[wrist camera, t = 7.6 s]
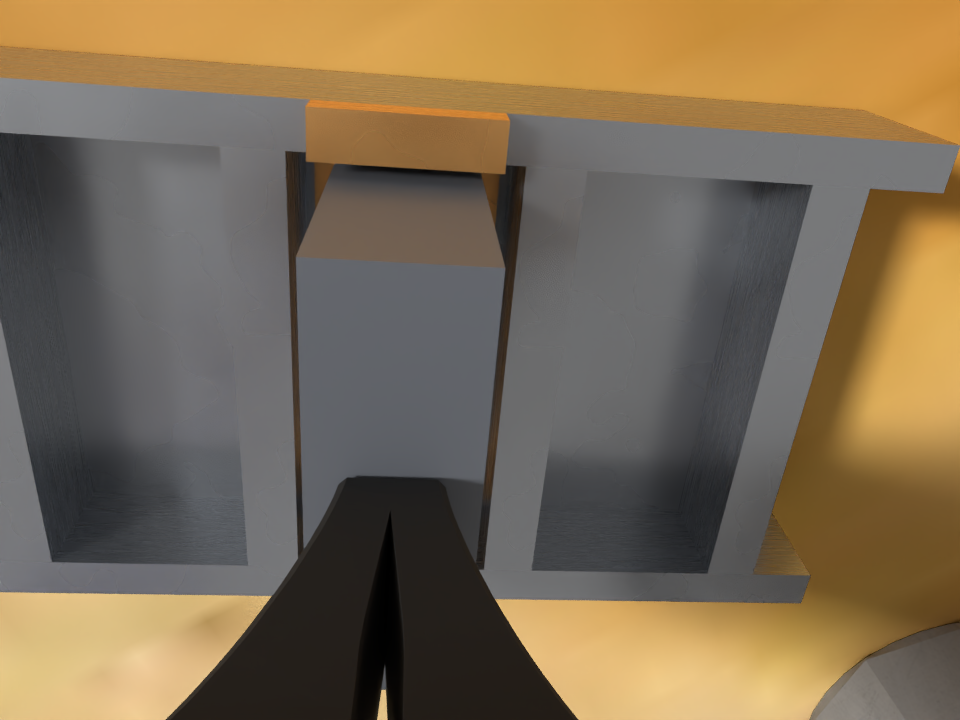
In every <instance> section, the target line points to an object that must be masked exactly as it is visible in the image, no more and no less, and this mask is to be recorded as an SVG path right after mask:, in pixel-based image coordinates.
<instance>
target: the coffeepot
mask: <svg viewBox="0 0 960 720" xmlns="http://www.w3.org/2000/svg"><path fill="white" fill-rule="evenodd" d="M810 720H960V623H953V624H948V625H944V626H940V627H936V628H932V629H929V630H925V631H921V632H918V633H916V634H913V635H911V636H908V637H906V638H903V639H901V640H898V641H896V642H893V643H891V644H890V645H888V646H886V647H884V648H882V649H881V650H879V651H877V652H875V653H873V654H872V655H870V656H868V657H866V658H865V659H864V660H862V661H861V662H860V663H858V664H857V665H856V666H854V667H853V668H852V669H850V670H849V671H848V672H846V673H845V674H844V675H843V676H842V677H841V678H840V679H839V680H838V681H837V682H836V683H835V684H834V685H833V686H832V687H831V688H830V689H829V690H828V691H827V692H826V693H825V695H824V696H823V698H822V699H821V700H820V702H819V703H818V705H817V706H816V708H815V709H814V711H813V713H812V715H811V717H810Z"/></svg>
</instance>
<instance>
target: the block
mask: <svg viewBox="0 0 960 720" xmlns="http://www.w3.org/2000/svg"><path fill="white" fill-rule="evenodd" d="M504 277H505V265H504V261H503V257H502V253H501V249H500V245H499V241H498V238H497V234H496V230H495V226H494V222H493V218H492V214H491V210H490V207H489V203H488V199H487V195H486V191H485V187H484V183H483V179H482V175H481V173H477V172H461V171H446V170H430V169H414V168H398V167H383V166H367V165H351V164H334V166H333V169H332V171H331V173H330V176H329V178H328V181H327V183H326V185H325V188H324V190H323V193H322V195H321V198H320V200H319V202H318V205H317V207H316V210H315V212H314V214H313V217H312V219H311V222H310V224H309V226H308V229H307V231H306V234H305V236H304V239H303V241H302V243H301V246H300V248H299V251H298V253H297V255H296V282H297V319H298V356H299V393H300V430H301V467H302V505H303V542H304V548H305V547H306V545H307V544H308V542H309V541H310V539H311V537H312V535H313V534H314V532H315V530H316V529H317V527H318V525H319V524H320V522H321V520H322V518H323V516H324V514H325V513H326V511H327V509H328V507H329V505H330V503H331V501H332V499H333V496H334V494H335V492H336V489H337V487H338V484H339V483H341V482H342V481H343V480H344V479H346V478H347V477H351V478H387V479H423V480H439V481H440V482H441V483H442V484H443V485H444V486H445V487H446V491H447V495H448V499H449V502H450V505H451V508H452V511H453V514H454V516H455V519H456V521H457V524H458V526H459V529H460V531H461V533H462V536H463V538H464V540H465V542H466V545H467V547H468V549H469V551H470V553H471V555H472V557H473V559H474V561H475V563H476V559H477V549H478V539H479V528H480V518H481V508H482V498H483V488H484V478H485V468H486V458H487V448H488V438H489V428H490V418H491V408H492V398H493V387H494V377H495V367H496V357H497V347H498V337H499V327H500V317H501V307H502V297H503V287H504ZM381 690H386V674H385V668H384V675H383V682H382V689H381Z"/></svg>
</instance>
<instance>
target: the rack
mask: <svg viewBox="0 0 960 720" xmlns="http://www.w3.org/2000/svg"><path fill="white" fill-rule="evenodd" d="M959 148H960V145H958V144H955V143H952V142H949V141H947V140H944V139H941V138H938V137H936V136H933V135H930V134H927V133H925V132H922V131H919V130H917V129H914V128H911V127H908V126H906V125H903V124H900V123H897V122H895V121H892V120H889V119H886V118H884V117H881V116H878V115H875V114H873V113H870V112H867V111H864V110H851V109H838V108H824V107H811V106H797V105H784V104H770V103H757V102H743V101H730V100H716V99H703V98H689V97H676V96H662V95H649V94H635V93H622V92H608V91H595V90H581V89H568V88H554V87H541V86H527V85H514V84H500V83H487V82H473V81H460V80H446V79H433V78H419V77H406V76H392V75H379V74H365V73H352V72H338V71H325V70H311V69H298V68H284V67H271V66H257V65H244V64H230V63H217V62H203V61H190V60H176V59H163V58H149V57H136V56H122V55H109V54H95V53H82V52H68V51H55V50H41V49H28V48H14V47H1V46H0V592H31V593H103V594H174V595H246V596H272V595H273V594H274V593H275V592H276V590H277V589H278V587H279V586H280V585H281V583H282V582H283V580H284V579H285V577H286V576H287V574H288V573H289V571H290V570H291V568H292V567H293V565H294V564H295V562H296V561H297V559H298V558H299V556H300V554H301V553H302V551H303V550H304V542H303V505H302V467H301V430H300V393H299V356H298V319H297V282H296V255H297V253H298V251H299V248H300V246H301V243H302V241H303V239H304V236H305V234H306V231H307V229H308V226H309V224H310V222H311V219H312V217H313V214H314V212H315V210H316V207H317V205H318V202H319V200H320V198H321V195H322V193H323V190H324V188H325V185H326V183H327V181H328V178H329V176H330V173H331V171H332V169H333V166H334V164H351V165H367V166H383V167H398V168H414V169H430V170H446V171H461V172H477V173H481V175H482V179H483V183H484V187H485V191H486V195H487V199H488V203H489V207H490V210H491V214H492V218H493V222H494V226H495V230H496V234H497V238H498V241H499V245H500V249H501V253H502V257H503V261H504V265H505V277H504V287H503V297H502V307H501V317H500V327H499V337H498V347H497V357H496V367H495V377H494V387H493V398H492V408H491V418H490V428H489V438H488V448H487V458H486V468H485V478H484V488H483V498H482V508H481V518H480V528H479V539H478V549H477V559H476V565H477V567H478V569H479V571H480V573H481V575H482V576H483V578H484V580H485V582H486V584H487V586H488V588H489V590H490V592H491V593H492V595H493V597H494V599H532V600H603V601H675V602H747V603H801V602H802V599H803V596H804V593H805V590H806V587H807V584H808V582H809V579H810V576H811V575H810V574H809V572H808V570H807V569H806V567H805V566H804V564H803V562H802V561H801V559H800V557H799V556H798V554H797V553H796V551H795V549H794V548H793V546H792V545H791V543H790V541H789V540H788V538H787V536H786V535H785V533H784V532H783V530H782V528H781V527H780V525H779V524H778V522H777V520H776V519H775V517H774V515H773V514H772V509H773V506H774V503H775V500H776V496H777V493H778V490H779V486H780V483H781V480H782V477H783V473H784V470H785V467H786V463H787V460H788V457H789V454H790V450H791V447H792V444H793V441H794V437H795V434H796V431H797V427H798V424H799V421H800V418H801V414H802V411H803V408H804V404H805V401H806V398H807V395H808V391H809V388H810V385H811V381H812V378H813V375H814V372H815V368H816V365H817V362H818V358H819V355H820V352H821V349H822V345H823V342H824V339H825V336H826V332H827V329H828V326H829V322H830V319H831V316H832V313H833V309H834V306H835V303H836V299H837V296H838V293H839V290H840V286H841V283H842V280H843V276H844V273H845V270H846V267H847V263H848V260H849V257H850V253H851V250H852V247H853V244H854V240H855V237H856V234H857V231H858V227H859V224H860V221H861V217H862V214H863V211H864V208H865V204H866V201H867V198H868V194H869V191H870V189H883V190H898V191H914V192H929V193H944V191H945V188H946V185H947V182H948V179H949V176H950V173H951V171H952V168H953V165H954V162H955V159H956V156H957V153H958V150H959Z"/></svg>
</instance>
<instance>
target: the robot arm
mask: <svg viewBox="0 0 960 720" xmlns="http://www.w3.org/2000/svg"><path fill="white" fill-rule="evenodd" d="M384 668H385V674H386V696H387V717H388V720H578V719H577V718H576V716H575V715H574V714H573V713H572V711H571V710H570V709H569V708H568V706H567V705H566V704H565V703H564V701H563V700H562V699H561V698H560V696H559V695H558V694H557V692H556V691H555V689H554V688H553V687H552V685H551V684H550V683H549V681H548V680H547V679H546V677H545V676H544V675H543V673H542V672H541V671H540V669H539V668H538V666H537V665H536V663H535V662H534V661H533V659H532V658H531V656H530V655H529V653H528V652H527V650H526V649H525V647H524V646H523V644H522V643H521V641H520V640H519V638H518V637H517V635H516V633H515V632H514V630H513V629H512V627H511V625H510V624H509V622H508V621H507V619H506V617H505V616H504V614H503V612H502V611H501V609H500V607H499V606H498V604H497V602H496V600H495V599H494V597H493V595H492V593H491V592H490V590H489V588H488V586H487V584H486V582H485V580H484V578H483V576H482V575H481V573H480V571H479V569H478V567H477V565H476V563H475V561H474V559H473V557H472V555H471V553H470V551H469V549H468V547H467V545H466V542H465V540H464V538H463V536H462V533H461V531H460V529H459V526H458V524H457V521H456V519H455V516H454V514H453V511H452V508H451V505H450V502H449V499H448V495H447V491H446V487H445V486H444V485H443V484H442V483H441V482H440V481H439V480H423V479H387V478H351V477H347V478H346V479H344V480H343V481H342V482H341V483H339V484H338V487H337V489H336V492H335V494H334V496H333V499H332V501H331V503H330V505H329V507H328V509H327V511H326V513H325V514H324V516H323V518H322V520H321V522H320V524H319V525H318V527H317V529H316V530H315V532H314V534H313V535H312V537H311V539H310V541H309V542H308V544H307V545H306V547H305V548H304V550H303V551H302V553H301V554H300V556H299V558H298V559H297V561H296V562H295V564H294V565H293V567H292V568H291V570H290V571H289V573H288V574H287V576H286V577H285V579H284V580H283V582H282V583H281V585H280V586H279V587H278V589H277V590H276V592H275V593H274V594H273V595H272V597H271V598H270V599H269V601H268V602H267V603H266V605H265V606H264V607H263V609H262V610H261V611H260V613H259V614H258V615H257V617H256V618H255V619H254V621H253V622H252V623H251V625H250V626H249V627H248V628H247V630H246V631H245V632H244V634H243V635H242V636H241V637H240V639H239V640H238V641H237V642H236V643H235V645H234V646H233V647H232V648H231V649H230V651H229V652H228V653H227V654H226V655H225V656H224V658H223V659H222V660H221V661H220V662H219V663H218V665H217V666H216V667H215V668H214V669H213V670H212V671H211V672H210V674H209V675H208V676H207V677H206V678H205V679H204V680H203V681H202V682H201V683H200V685H199V686H198V687H197V688H196V689H195V690H194V691H193V692H192V693H191V694H190V695H189V697H188V698H187V699H186V700H185V701H184V702H183V703H182V704H181V705H180V706H179V707H178V708H177V709H176V710H175V711H174V712H173V713H172V714H171V715H170V716H169V717H168V718H167V719H166V720H377V716H378V709H379V702H380V695H381V689H382V682H383V675H384Z"/></svg>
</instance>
